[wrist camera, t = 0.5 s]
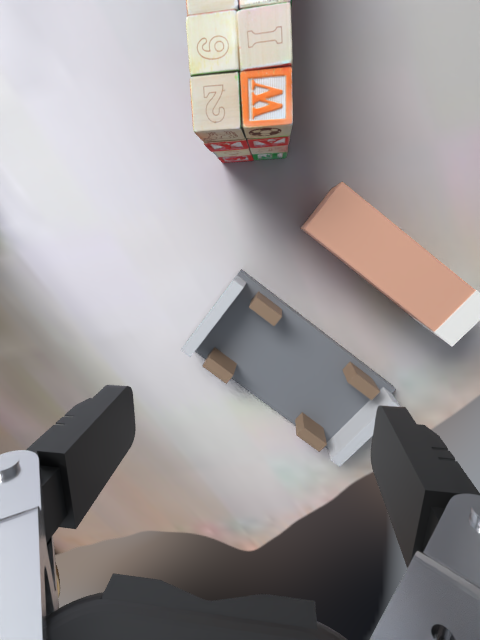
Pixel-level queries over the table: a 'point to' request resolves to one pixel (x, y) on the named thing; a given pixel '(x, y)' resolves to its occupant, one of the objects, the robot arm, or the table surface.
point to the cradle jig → (291, 367)
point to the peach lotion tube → (394, 264)
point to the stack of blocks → (241, 77)
